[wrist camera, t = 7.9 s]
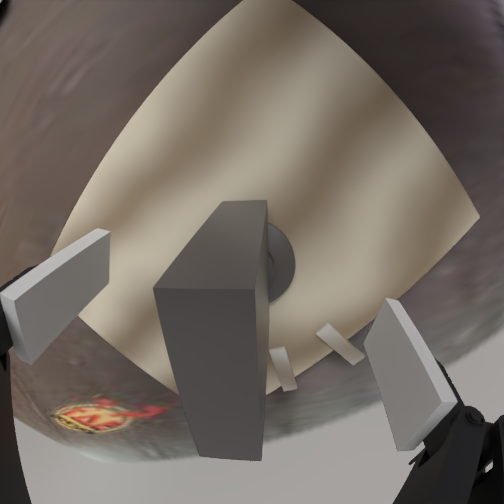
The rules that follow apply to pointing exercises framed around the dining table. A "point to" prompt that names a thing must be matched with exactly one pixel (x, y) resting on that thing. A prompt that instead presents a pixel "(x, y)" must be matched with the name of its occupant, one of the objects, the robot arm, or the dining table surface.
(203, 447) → the grey rectangular block
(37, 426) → the dining table surface
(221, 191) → the board
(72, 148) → the dining table surface
